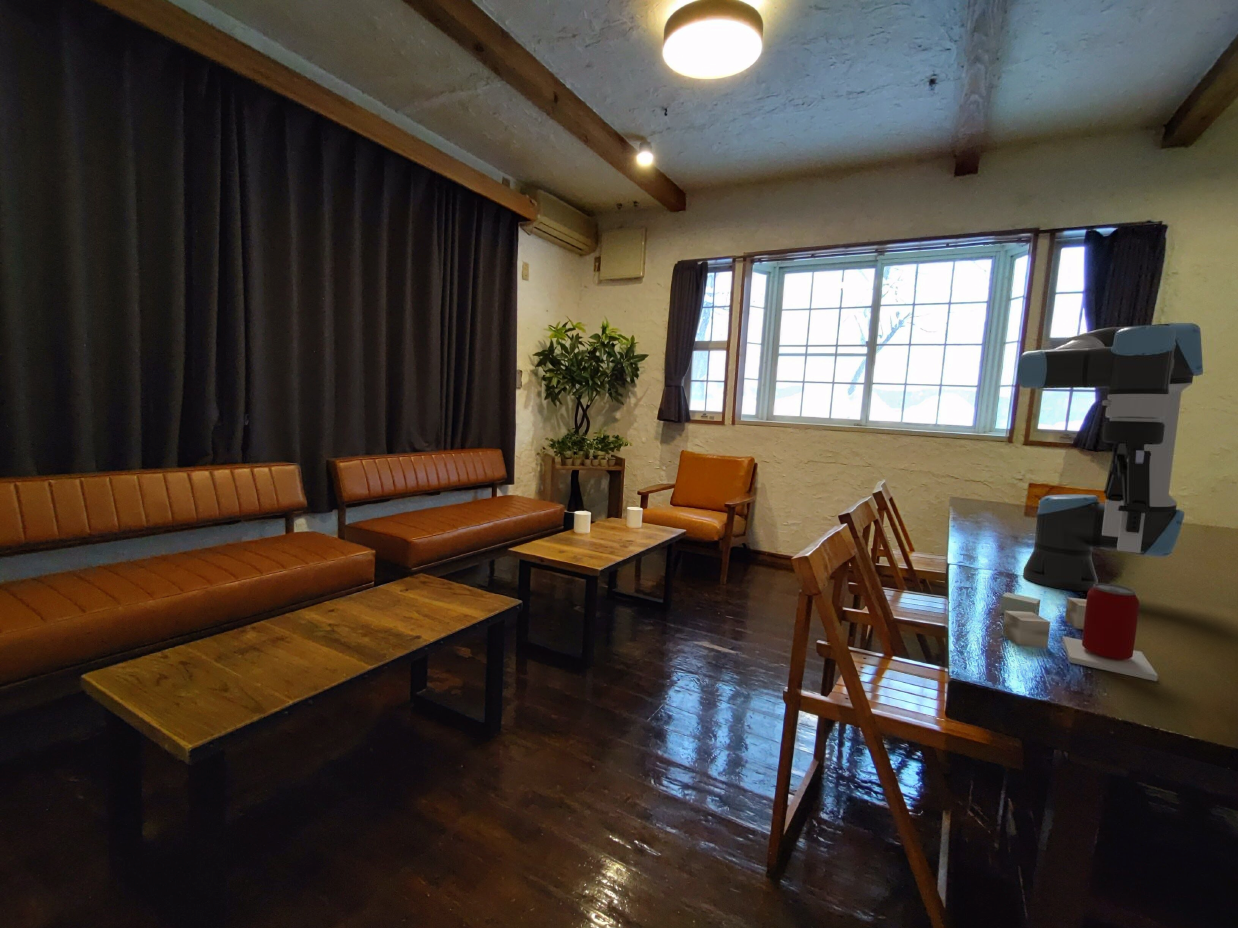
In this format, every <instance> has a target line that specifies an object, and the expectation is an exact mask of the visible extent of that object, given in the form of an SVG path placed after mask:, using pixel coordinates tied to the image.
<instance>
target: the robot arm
mask: <svg viewBox="0 0 1238 928" xmlns="http://www.w3.org/2000/svg"><path fill="white" fill-rule="evenodd" d="M1201 331H1202V330H1201V327H1200V326H1199V325H1198V324H1196V323H1193V322H1168V323H1159V324H1145V325H1131V326H1130V325H1129V326H1120V327H1119V326H1118V327H1115V326H1114V327H1105V328H1099V329H1096V330H1092V331H1091V330H1090V331H1087V332H1083V333H1080V334H1077V335H1074V336H1071V337H1069V338H1067V339H1065V340H1063V341H1062V342H1060V344H1059V345H1058V346H1057V347H1056V348H1053V349H1037V350H1031V351H1030V350H1029V351H1025V352H1023V353H1022V354H1021V355H1020V357H1019V360H1018V365H1017V372H1016V373H1017V375H1016V376H1017V383H1018V386H1019V387H1021V388H1024V389H1036V390H1041V389H1078V388H1084V389H1087V388H1088V389H1095V388H1096V389H1101V388H1103V389H1105V388H1107V389H1108V390H1107V399H1104V400H1102V401H1101V405H1102V406H1106V408H1105V415H1104V416H1105V417H1106V418H1107V419H1108V418H1109V420H1106V421H1105V422H1104V423H1103V428H1102V437H1101V439H1102V441H1103V442H1105V443H1109V444H1118V446H1113V447H1112V448H1111V451H1112V454H1111V459H1110V464H1109V469H1108V474H1107V477H1106V483H1105V487H1104V490H1103V493H1104V495H1105V496H1104V497H1105V502H1104V501H1103V502H1102V501H1100V499H1099V497H1098V496H1097V495H1094V494H1053V495H1050V494H1049V495H1046V496H1043V497H1041V498H1040V499H1039V503H1038V509H1037V512H1036V515H1037V517H1036V527H1035V538H1034V547H1033V551H1032V552H1031V554H1030V556H1029V558H1028V559H1027V562H1026V563H1025V565H1024V568H1023V573H1022V577H1023V579H1026V580H1027V581H1029V582H1032V583H1035V584H1038V585H1041V586H1046V587H1049V588H1054V589H1059V590H1060V589H1061V590H1067V591H1076V592H1088V591H1089V590H1090V589H1091V588H1092V587H1093V586H1094V584H1096V583H1099V580H1098V576H1097V574H1096V570H1095V566H1094V563H1093V559H1092V555H1093V548H1094V549H1101V550H1106V551H1107V550H1108V551H1113V552H1119V553H1126V554H1132V555H1139V556H1142V557H1146V556H1147V557H1155V558H1166V557H1169V556H1171V554H1172V553H1173V552H1174V550H1175V547H1176V544H1177V541H1178V539H1179V535H1180V531H1181V528H1182V525H1183V522H1184V518H1185V514H1186V513H1185V511H1184V510H1181V509H1178V508H1177V507H1178V502H1177V501H1176V499H1174V498H1173V497H1172V496H1170V487H1171V478H1172V471H1173V470H1172V469H1173V461H1174V455H1175V446H1176V437H1177V431H1178V430H1177V429H1178V422H1179V421H1178V420H1179V416H1180V415H1179V414H1180V407H1181V398H1182V393H1183V391H1184V390H1185V389H1186V388H1188V387H1190V386H1191V385H1192V384H1193V379H1194V377H1198V376H1202V375H1203V374H1204V368H1203V367H1204V366H1203V348H1202V347H1203V346H1202V333H1201Z"/></svg>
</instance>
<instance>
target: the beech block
mask: <svg viewBox="0 0 1238 928" xmlns="http://www.w3.org/2000/svg"><path fill="white" fill-rule="evenodd" d="M1086 601H1087V598H1085V599H1084V598H1077V597H1075V598H1074V597H1068V596H1067V598H1066V607H1065V608H1066V609H1065V617H1064V621H1065V622H1067V623H1068V624H1069V625H1071V626H1072V627H1074V628H1075V629H1076V630H1077V629H1078V630H1083V627H1084V618H1085V609H1086Z"/></svg>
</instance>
